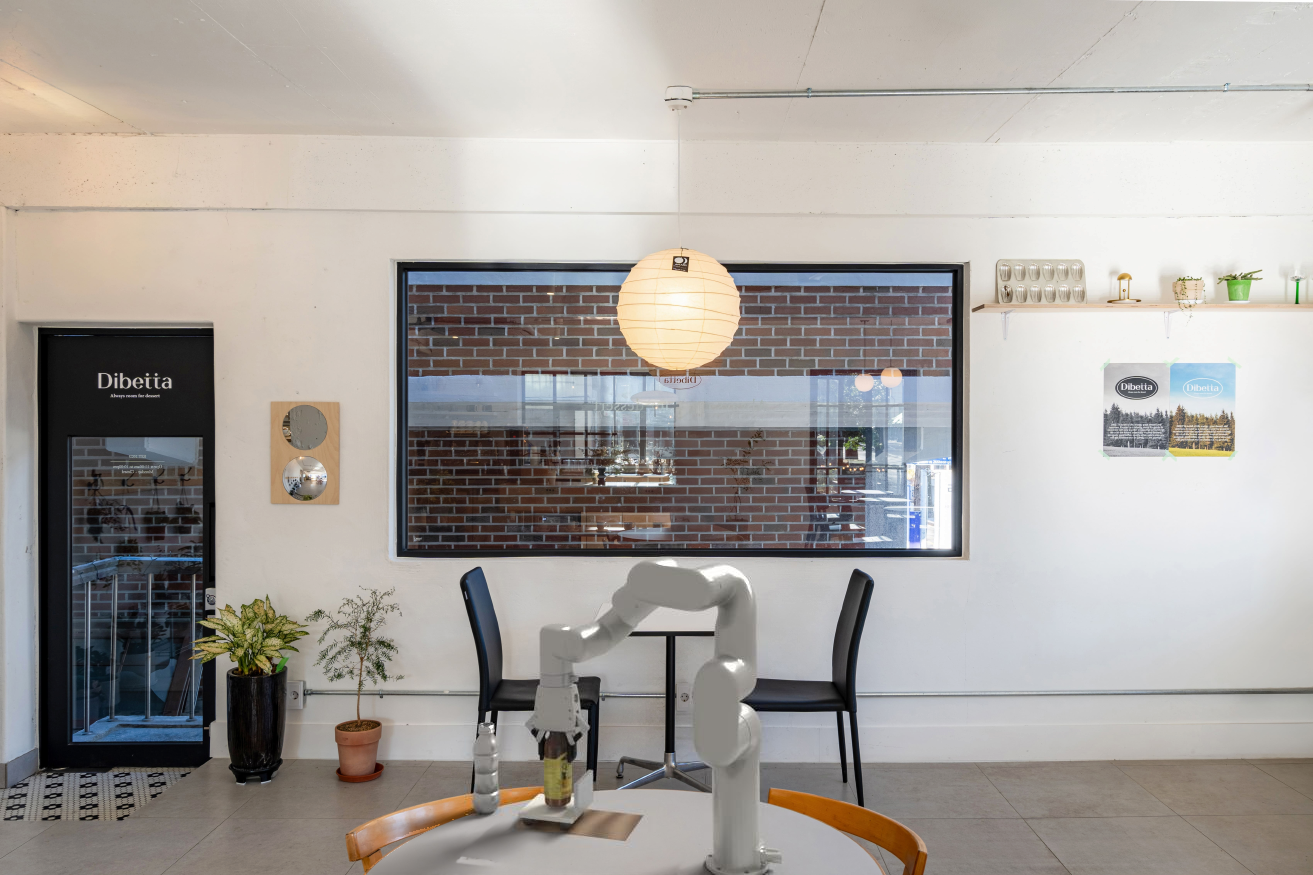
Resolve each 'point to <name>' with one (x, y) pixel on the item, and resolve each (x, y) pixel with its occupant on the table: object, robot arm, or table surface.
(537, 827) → the clip board
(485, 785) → the silver water bottle
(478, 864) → the table surface
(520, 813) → the white bracket
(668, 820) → the table surface
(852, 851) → the table surface
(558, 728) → the robot arm
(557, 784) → the sauce bottle
